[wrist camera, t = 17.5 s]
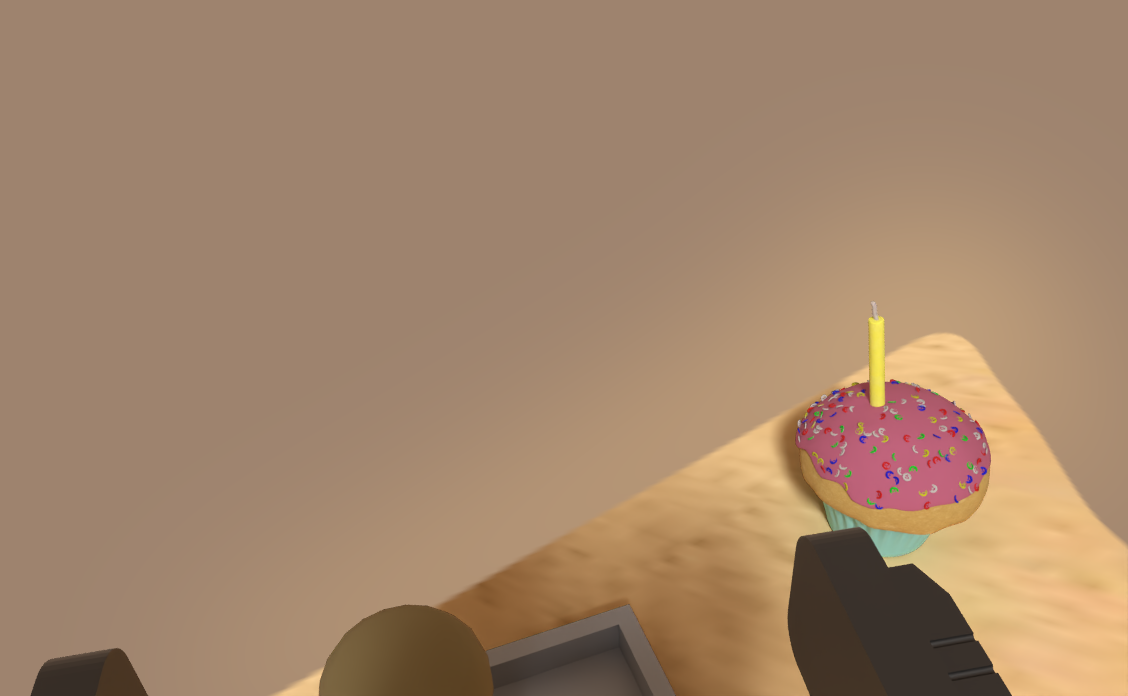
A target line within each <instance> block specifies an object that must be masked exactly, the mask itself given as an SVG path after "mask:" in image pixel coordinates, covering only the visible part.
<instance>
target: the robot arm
mask: <svg viewBox="0 0 1128 696" xmlns="http://www.w3.org/2000/svg"><path fill="white" fill-rule="evenodd" d="M788 630H789V636H790V641H791V646H792V650H793V653H794V657H795V660H796V662H797V665H798V668H799V670H800V672H801V675H802V677H803V679H804V682H805V684H806V687H807V689H808V691H809V694H810V696H1012V695H1011V693H1010V692H1009V690H1008V688H1007V687H1006V685H1005V684H1004V682H1003V680H1002V679H1001V677H1000V675H999V674H998V673H995V672H994V670H993V664H992V662H991V661H990V659H989V658H988V656H987V654H986V653H985V651H984V649H983V648H982V646H981V645H980V643H979V641H975V639H974V636H973V632H972V630H971V628H970V627H969V625H968V623H967V622H966V620H965V618H964V617H963V615H962V614H961V612H960V610H959V609H958V607H957V605H956V604H955V602H954V601H953V599H952V597H951V596H950V594H949V593H947V592H946V591H945V590H944V589H943V588H941V587H940V586H939V585H938V584H937V583H935V582H934V581H933V580H932V579H931V578H929V577H928V576H927V575H926V574H925V573H923V572H922V571H921V570H920V569H919V568H917V567H916V566H915V565H914V564H907V565H901V566H895V567H890V568H888V567H887V565H886V563H885V561H884V560H883V558H882V556H881V554H880V553H879V551H878V549H877V547H876V545H875V544H874V542H873V540H872V539H871V537H870V535H869V534H868V533H867V532H866V531H865V530H864V529H863V528H861V527H854V528H848V529H842V530H836V531H830V532H824V533H818V534H812V535H806V536H801V537H800V538H799V539H798V542H797V545H796V552H795V560H794V568H793V576H792V584H791V591H790V599H789V607H788ZM31 696H148V695H147V693H146V691H145V689H144V687H143V685H142V684H141V682H140V680H139V678H138V676H137V674H136V672H135V670H134V668H133V667H132V665H131V663H130V661H129V659H128V657H127V656H126V654H125V653H124V652H123V651H122V650H121V649H118V648H115V649H108V650H102V651H96V652H90V653H84V654H79V655H72V656H66V657H60V658H54V659H50V660H48V661H47V662H46V663H44V665H43V666H42V667H41V669H40V671H39V673H38V676H37V679H36V681H35V684H34V687H33V690H32V693H31Z"/></svg>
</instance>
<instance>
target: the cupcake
mask: <svg viewBox="0 0 1128 696" xmlns="http://www.w3.org/2000/svg"><path fill="white" fill-rule="evenodd" d="M871 305H872V314H873V317H871V318H869V321H868V324H869V325H868V326H869V380H867V381H868V382H866V383H861V384H859V383H852V386H851V387H849V388H846V389H845V388H843V389H841V390H840V389H837V390H835V391H832V392H831V393H832V394H830V395H828V396H826V395H822V396H821V400H822V401H820V402H815V403H814V404H812V405H811V406H810V408H809V409H808V410H807V412H808V413H806V414H805V417H804V418H803V419H802V421H800V420H798V429H797V433H796V440H795V441H796V445H797V447H798V448H800V464H801V470H802V474H803V477H804V479H805V481H806V482H807V484H808V485H809V486H810V487H811V488H812V489H813V491H814V492H815V493H816V494H817V496H818V497H819V498H820V499H821V500H822V501H823V504H824V507H825V511H826V515H827V519H828V522H829V525H830V527H831V529H832V530H833V531H836V530H842V529H848V528H854V527H861V528H863V529H864V530H865V531H866V532H867V533H868V534H869V535H870V537H871V539H872V540H873V542H874V544H875V545H876V547H877V549H878V551H879V553H880V554H881V556H882V557H895V556H901V555H905V554H908V553H910V552H912V551H914V550H916V549H917V548H919V547H920V546H921V545H922V544H923V543H924V542H925V540H926V539H927V538H928V536H929V535H930V534H932V533H935V532H937V531H939V530H941V529H943V528H946V527H949V526H952V525H955V524H958V523H961V522H964V521H966V520H967V519H968V518H969V517H971V516H972V514H973V513H974V512H975V511H976V510H977V509H978V507H979V506H980V504H981V503H982V501H983V498H984V496H985V494H986V491H987V488H988V484H989V476H990V463H991V455H990V449H989V446H988V443H987V440H986V437H985V434H984V432H983V430H982V428H981V427H980V425H979V423H978V422H977V421H976V420H975V421H973V420H972V418H971V416H970V414H968V415H969V416H967V415H966V414H965V413H964V412H965V411H964V410H963V409H962V408H960V409H959V408H958V407H957V406H956V403H955V401H953V402H950V401H948V400H947V399H945V398H944V397H942V396H940V395H938V394H937V393H935V392H931V390H926V389H923V388H921V387H920V386H919V385H916V384H914V383H911V384H908V383H906V382H905V383H901V382H899V381H896V380H893V379H891V380H890V382H885V352H884V350H885V348H884V318H883V317H880V316H878V315H877V305H876V303H875V302H874V301H872V302H871ZM824 396H825V397H826V398H824V399H823V397H824ZM810 409H811V410H810ZM809 410H810V411H809Z"/></svg>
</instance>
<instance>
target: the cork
mask: <svg viewBox="0 0 1128 696" xmlns="http://www.w3.org/2000/svg"><path fill="white" fill-rule="evenodd" d="M493 691H494V688H493V681H492V675H491V669H490V664H489V658H488V655H487V653H486V652H485V650H484V649H483V647H482V645H481V644H480V642H479V641H478V639H477V637H476V636H475V634H474V633H473V631H472V629H471V628H470V627H468V626H467V625H466V624H464V623H463V622H462V621H460V620H459V619H458V618H456V617H455V616H454V615H452V614H449V613H447V612H444V611H441V610H438V609H435V608H432V607H429V606H419V605H403V606H398V607H393V608H389V609H384V610H382V611H379V612H377V613H375V614H373V615H371V616H369V617H367V618H365V619H363V620H362V621H360V622H359V623H358V624H357V625H355V626H354V627H353V628H352V629H351V630H349V631H348V632H347V633H346V634H345V635H344V636H343V638H342V639H341V641H340V642H339V643H338V645H337V646H336V647H335V649H334V650H333V652H332V653H331V655H330V656H329V657H328V659H327V662H326V665H325V667H324V670H323V673H322V676H321V679H320V685H319V696H493Z"/></svg>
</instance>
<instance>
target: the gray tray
mask: <svg viewBox="0 0 1128 696" xmlns="http://www.w3.org/2000/svg"><path fill="white" fill-rule="evenodd" d="M485 652H486V653H487V655H488V658H489V664H490V669H491V675H492V681H493V688H494V691H493V696H676V695H675V693H674V691H673V689H672V687H671V685H670V683H669V681H668V679H667V677H666V675H665V673H664V671H663V669H662V667H661V665H660V663H659V661H658V660H657V658H656V656H655V654H654V652H653V650H652V648H651V646H650V644H649V642H648V640H647V638H646V636H645V634H644V632H643V630H642V628H641V626H640V624H639V622H638V620H637V618H636V616H635V614H634V612H633V611H632V609H631V607H630V605H629V604H628V605H625V606H622V607H619V608H616V609H613V610H610V611H607V612H603V613H600V614H597V615H594V616H591V617H588V618H585V619H582V620H579V621H576V622H573V623H570V624H567V625H564V626H561V627H558V628H554V629H551V630H548V631H545V632H542V633H539V634H536V635H533V636H530V637H527V638H524V639H521V640H518V641H515V642H512V643H509V644H505V645H502V646H499V647H496V648H493V649H490V650H487V651H485Z"/></svg>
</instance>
